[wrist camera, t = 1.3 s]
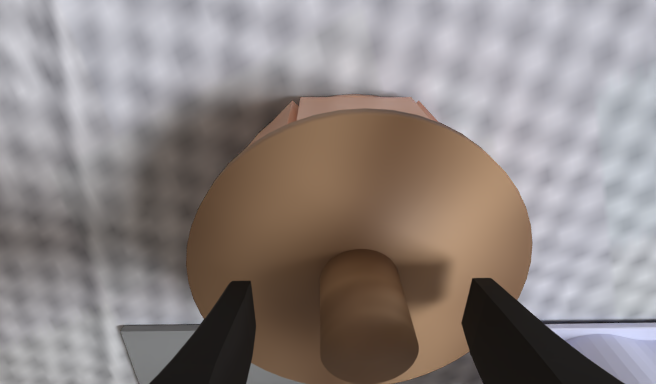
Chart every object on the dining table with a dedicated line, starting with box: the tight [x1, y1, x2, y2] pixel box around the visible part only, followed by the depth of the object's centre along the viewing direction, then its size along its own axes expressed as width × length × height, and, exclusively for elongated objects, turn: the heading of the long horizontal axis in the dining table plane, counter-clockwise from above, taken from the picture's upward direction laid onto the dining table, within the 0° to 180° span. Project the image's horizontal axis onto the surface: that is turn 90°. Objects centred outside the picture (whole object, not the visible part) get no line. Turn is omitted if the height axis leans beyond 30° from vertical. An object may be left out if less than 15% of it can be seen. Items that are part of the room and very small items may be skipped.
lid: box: [186, 108, 532, 384], centre depth 12 cm, size 12×12×4 cm
